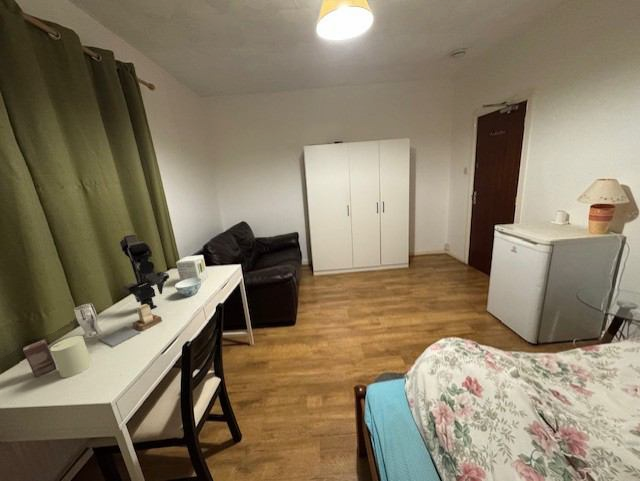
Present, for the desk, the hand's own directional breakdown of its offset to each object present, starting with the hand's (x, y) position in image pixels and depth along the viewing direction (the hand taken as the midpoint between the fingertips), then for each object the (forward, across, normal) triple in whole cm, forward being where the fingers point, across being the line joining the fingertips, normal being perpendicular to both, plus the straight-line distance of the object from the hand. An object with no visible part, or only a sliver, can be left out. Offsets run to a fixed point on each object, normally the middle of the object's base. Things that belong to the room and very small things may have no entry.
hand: (151, 298), depth 126 cm
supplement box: (+14, +44, +30) cm, 56 cm away
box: (+13, -39, +8) cm, 42 cm away
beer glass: (+14, -19, +21) cm, 32 cm away
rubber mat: (+13, -15, +5) cm, 21 cm away
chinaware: (+14, +29, +14) cm, 35 cm away
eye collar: (+13, -4, +3) cm, 14 cm away
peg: (+13, -4, +3) cm, 14 cm away
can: (+13, -34, -3) cm, 36 cm away
